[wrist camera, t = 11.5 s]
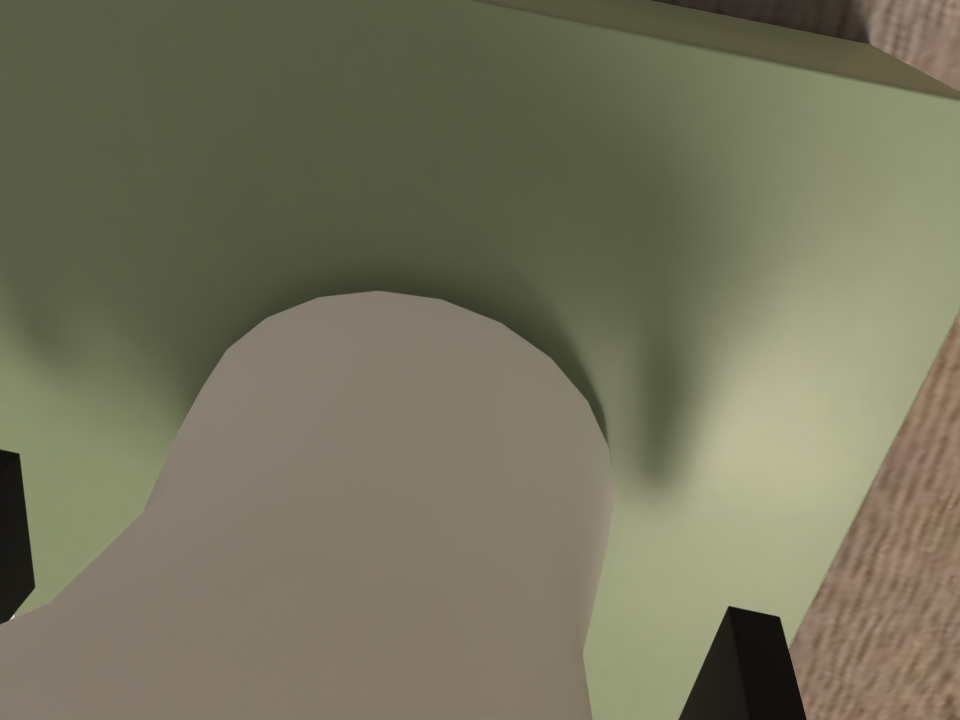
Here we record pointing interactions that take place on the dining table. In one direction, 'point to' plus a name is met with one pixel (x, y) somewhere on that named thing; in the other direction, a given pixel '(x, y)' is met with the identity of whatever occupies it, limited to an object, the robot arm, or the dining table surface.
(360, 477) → the cup
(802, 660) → the dining table surface
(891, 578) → the dining table surface
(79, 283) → the green flat-topped block
